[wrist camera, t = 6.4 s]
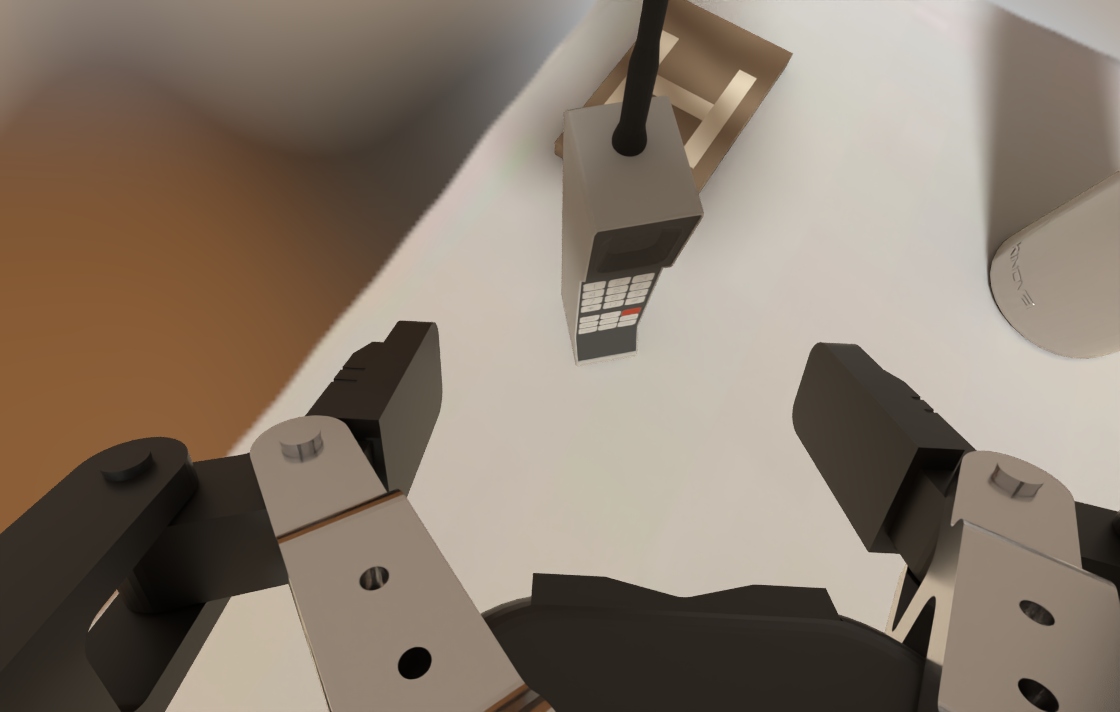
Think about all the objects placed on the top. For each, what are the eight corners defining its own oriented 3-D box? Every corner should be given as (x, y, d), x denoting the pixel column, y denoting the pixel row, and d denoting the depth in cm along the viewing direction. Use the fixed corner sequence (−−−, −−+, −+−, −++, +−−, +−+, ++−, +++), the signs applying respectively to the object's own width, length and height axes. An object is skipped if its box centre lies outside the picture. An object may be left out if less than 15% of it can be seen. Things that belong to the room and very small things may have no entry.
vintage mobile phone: (576, 368, 33) (624, -25, 9) (561, 295, 34) (567, -219, 10) (634, 357, 33) (840, -55, 9) (617, 285, 34) (755, -241, 10)
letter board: (670, 8, 41) (674, -7, 40) (785, 67, 39) (792, 53, 38) (554, 153, 37) (554, 141, 36) (677, 224, 35) (681, 214, 34)
